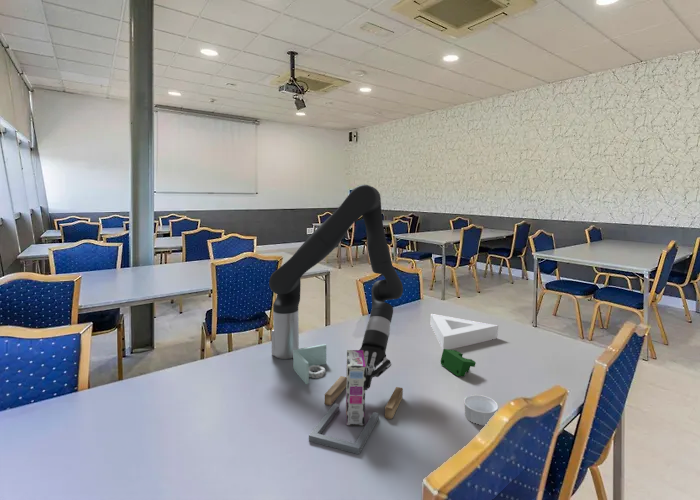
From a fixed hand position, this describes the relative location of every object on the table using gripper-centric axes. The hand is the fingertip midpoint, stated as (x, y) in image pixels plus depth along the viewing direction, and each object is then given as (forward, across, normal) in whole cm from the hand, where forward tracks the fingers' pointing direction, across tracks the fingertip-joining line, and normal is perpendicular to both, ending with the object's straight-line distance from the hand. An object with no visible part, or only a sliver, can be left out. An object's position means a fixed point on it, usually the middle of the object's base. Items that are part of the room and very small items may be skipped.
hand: (364, 389), depth 109 cm
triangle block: (-38, +19, +46) cm, 63 cm away
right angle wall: (-5, -21, +12) cm, 25 cm away
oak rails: (+2, 0, +4) cm, 4 cm away
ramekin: (0, +32, +7) cm, 32 cm away
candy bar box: (+8, 0, -1) cm, 8 cm away
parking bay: (+12, 0, -6) cm, 14 cm away
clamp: (-19, +24, +26) cm, 40 cm away
